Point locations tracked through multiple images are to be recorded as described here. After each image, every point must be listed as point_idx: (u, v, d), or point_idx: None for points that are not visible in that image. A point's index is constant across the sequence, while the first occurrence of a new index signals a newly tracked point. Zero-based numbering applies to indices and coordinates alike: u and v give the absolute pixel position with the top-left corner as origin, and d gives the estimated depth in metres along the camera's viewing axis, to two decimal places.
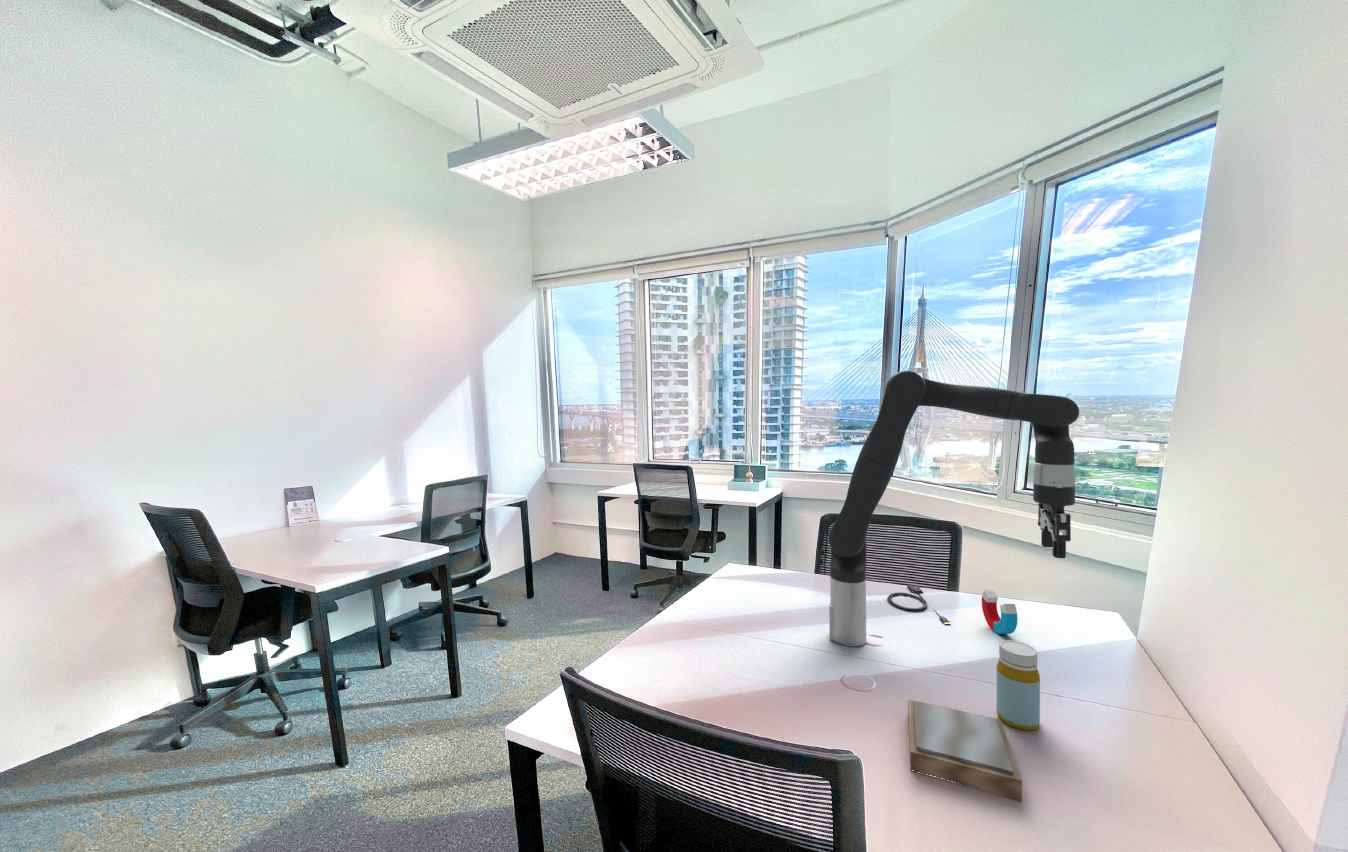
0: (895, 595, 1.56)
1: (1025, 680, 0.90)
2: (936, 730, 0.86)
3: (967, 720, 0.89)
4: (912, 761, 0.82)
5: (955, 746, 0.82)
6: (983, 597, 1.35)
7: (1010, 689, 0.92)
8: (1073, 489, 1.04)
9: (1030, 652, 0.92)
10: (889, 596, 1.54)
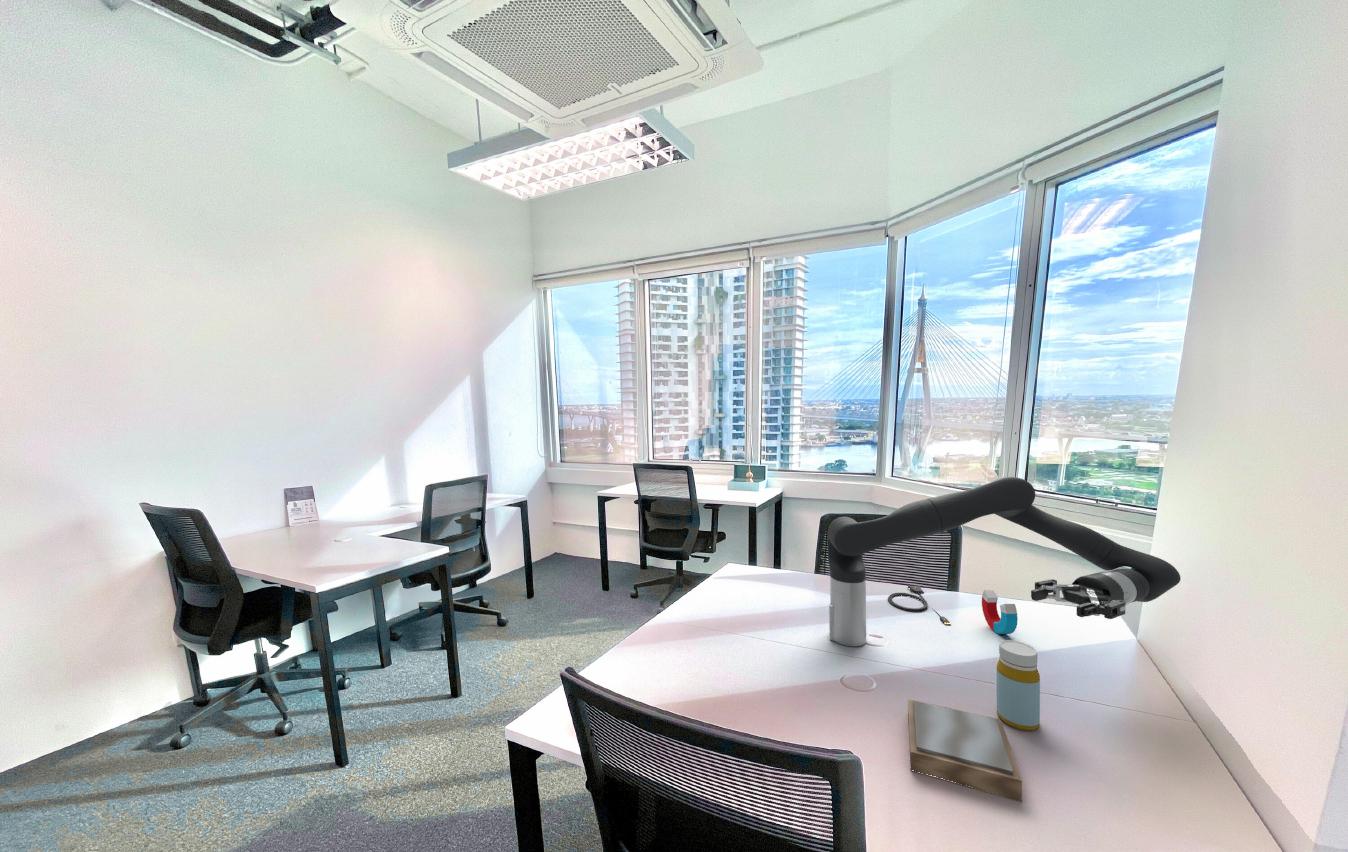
0: (896, 595, 1.56)
1: (1025, 680, 0.90)
2: (936, 730, 0.86)
3: (967, 720, 0.89)
4: (912, 761, 0.82)
5: (955, 746, 0.82)
6: (983, 597, 1.35)
7: (1010, 689, 0.92)
8: None
9: (1030, 652, 0.92)
10: (890, 596, 1.54)
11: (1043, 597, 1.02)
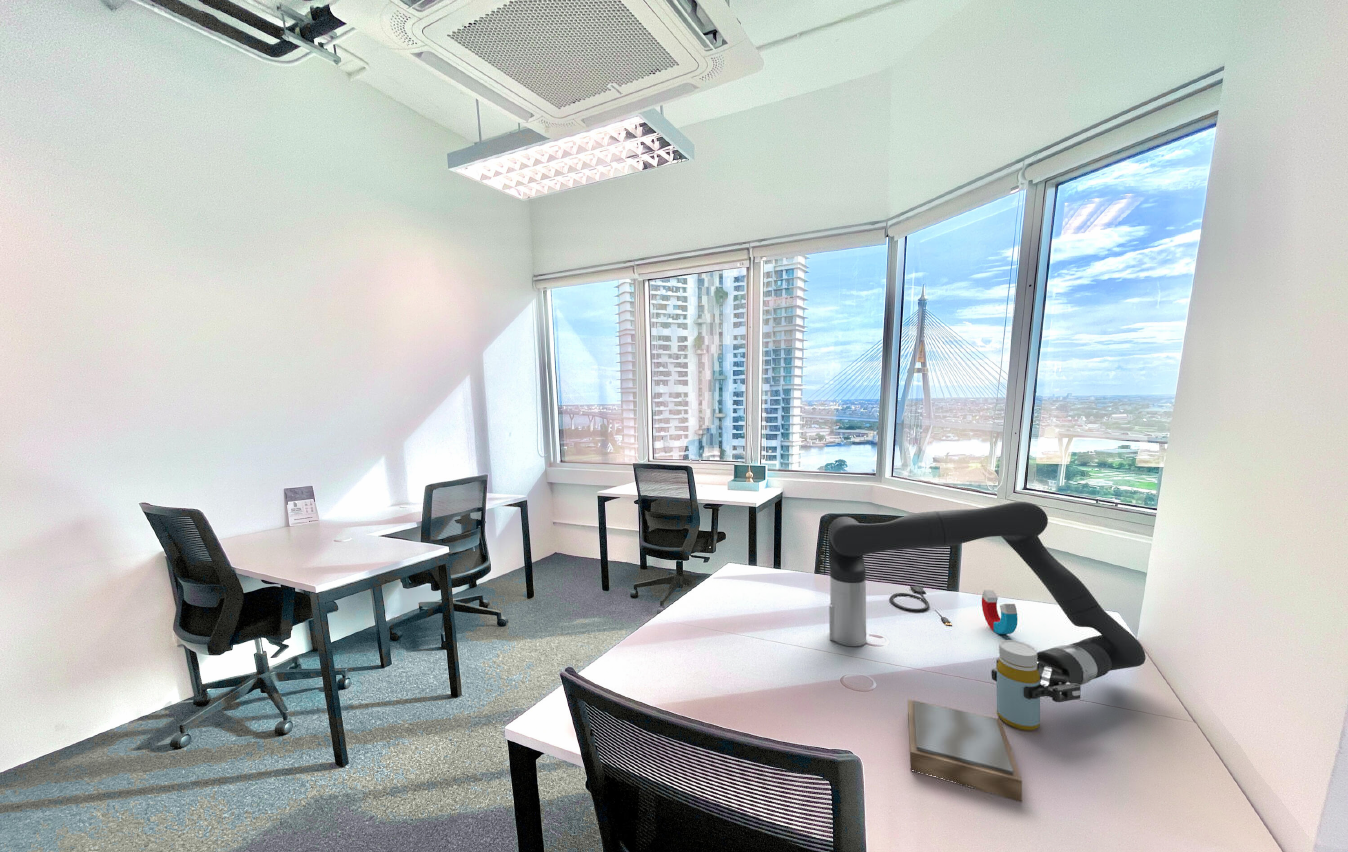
0: (897, 595, 1.55)
1: (1025, 680, 0.90)
2: (936, 730, 0.86)
3: (967, 720, 0.89)
4: (912, 761, 0.82)
5: (955, 746, 0.82)
6: (983, 597, 1.35)
7: (1010, 689, 0.92)
8: None
9: (1030, 652, 0.92)
10: (891, 596, 1.54)
11: None
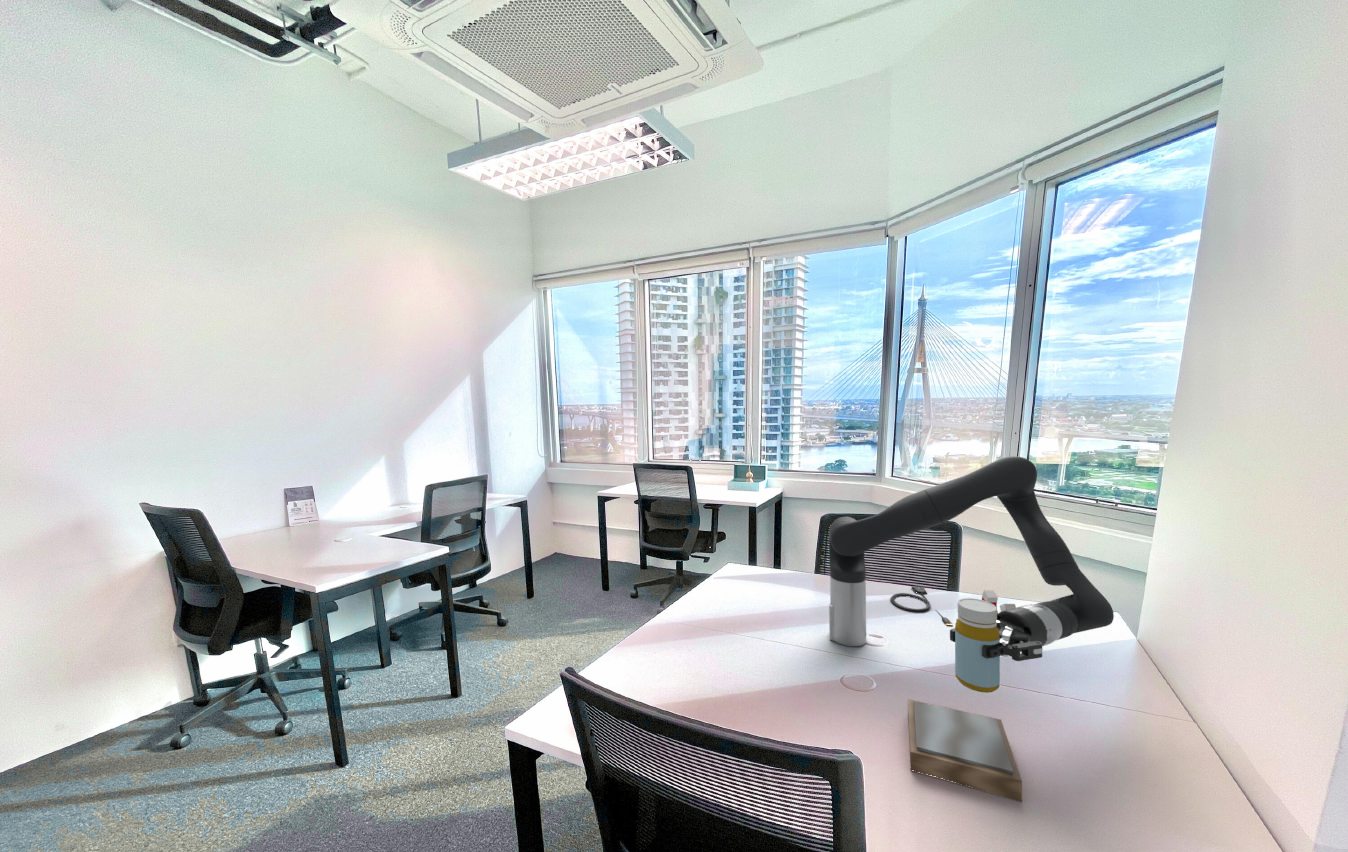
0: (898, 596, 1.55)
1: (983, 638, 0.84)
2: (936, 730, 0.86)
3: (967, 720, 0.89)
4: (912, 761, 0.82)
5: (955, 746, 0.82)
6: (983, 597, 1.35)
7: (968, 648, 0.85)
8: None
9: (989, 608, 0.85)
10: (892, 596, 1.54)
11: None
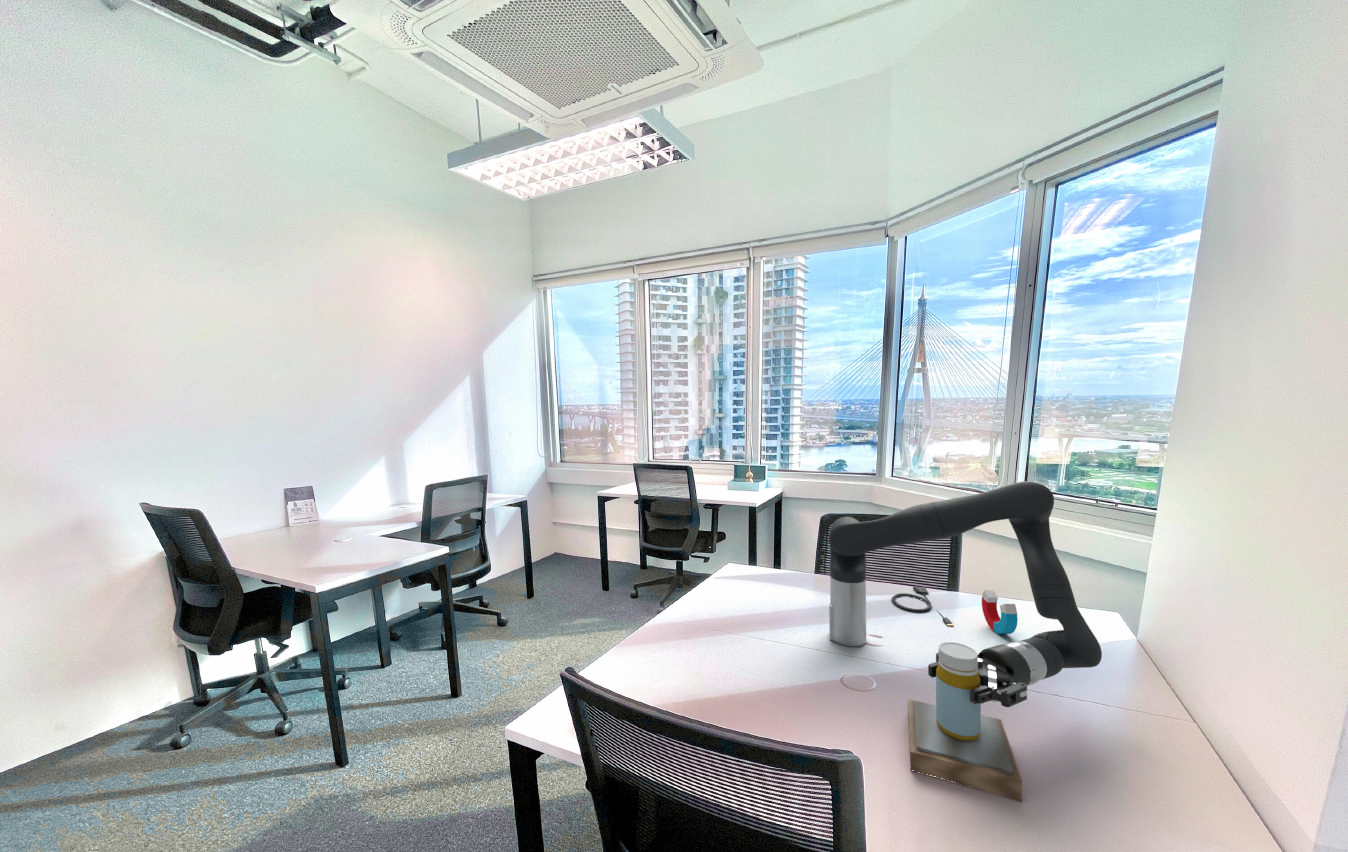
0: (900, 596, 1.55)
1: (964, 686, 0.82)
2: (936, 730, 0.86)
3: None
4: (912, 761, 0.82)
5: (955, 746, 0.82)
6: (983, 597, 1.35)
7: (949, 695, 0.84)
8: None
9: (970, 655, 0.84)
10: (893, 597, 1.54)
11: None
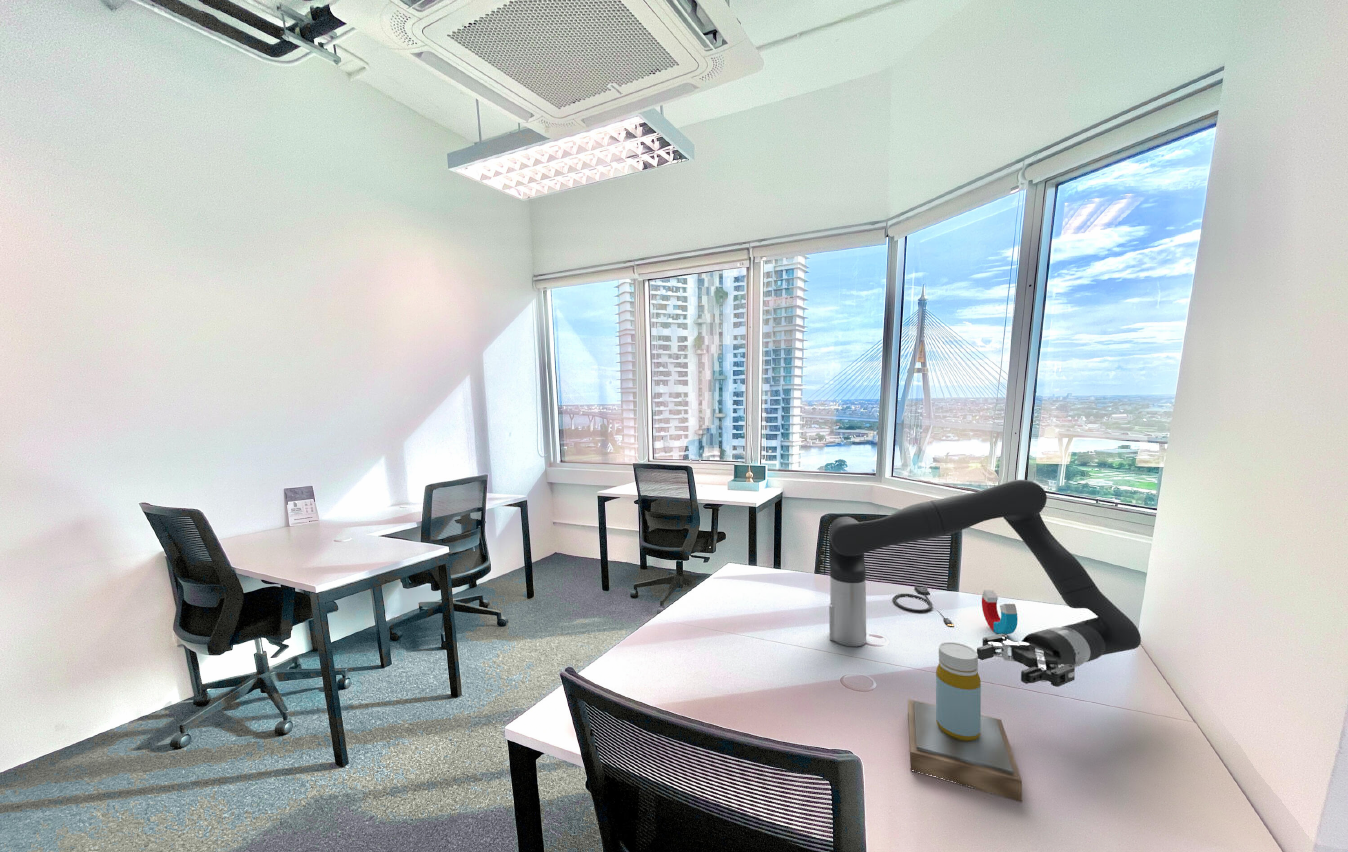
0: (901, 596, 1.55)
1: (964, 686, 0.82)
2: (936, 730, 0.86)
3: None
4: (912, 761, 0.82)
5: (955, 746, 0.82)
6: (983, 597, 1.35)
7: (949, 695, 0.84)
8: None
9: (970, 655, 0.84)
10: (894, 597, 1.53)
11: (990, 655, 0.94)
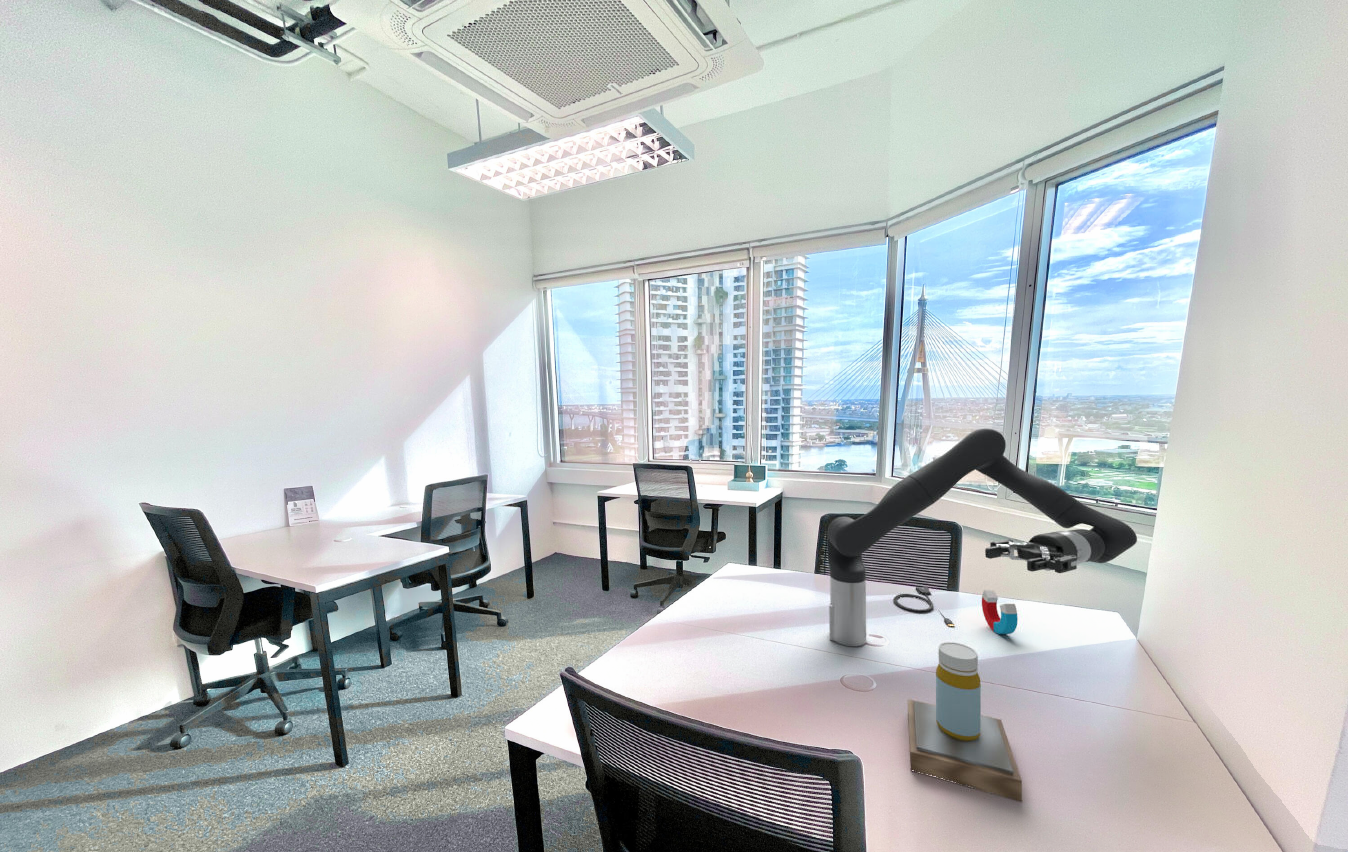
0: (902, 596, 1.55)
1: (963, 686, 0.82)
2: (936, 730, 0.86)
3: None
4: (912, 761, 0.82)
5: (955, 746, 0.82)
6: (983, 597, 1.35)
7: (949, 695, 0.84)
8: None
9: (969, 655, 0.84)
10: (895, 597, 1.53)
11: (997, 555, 1.01)
